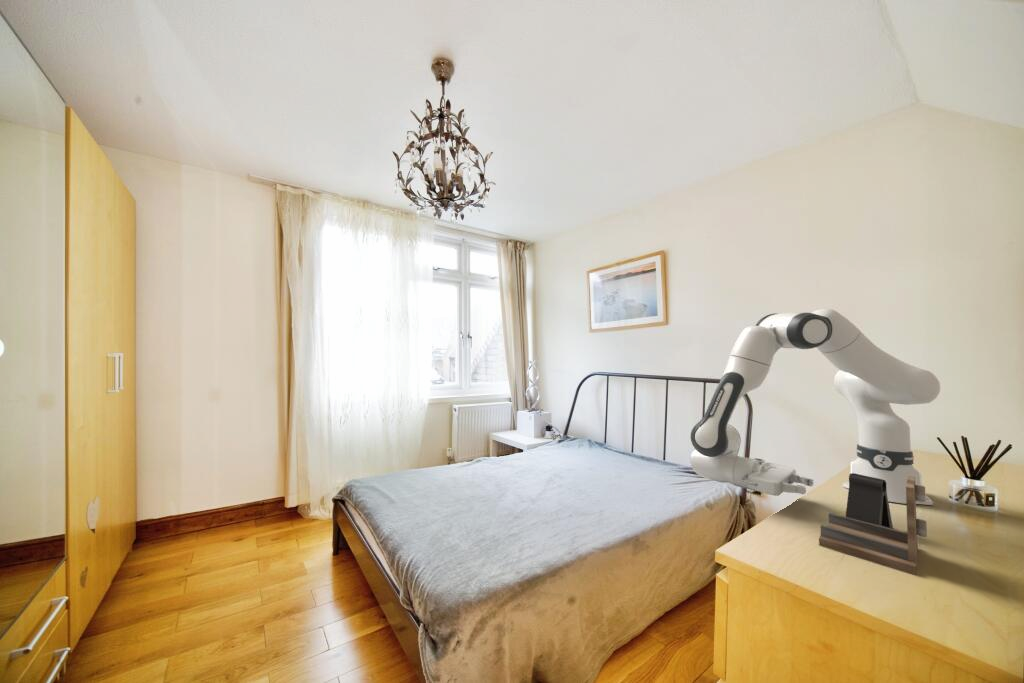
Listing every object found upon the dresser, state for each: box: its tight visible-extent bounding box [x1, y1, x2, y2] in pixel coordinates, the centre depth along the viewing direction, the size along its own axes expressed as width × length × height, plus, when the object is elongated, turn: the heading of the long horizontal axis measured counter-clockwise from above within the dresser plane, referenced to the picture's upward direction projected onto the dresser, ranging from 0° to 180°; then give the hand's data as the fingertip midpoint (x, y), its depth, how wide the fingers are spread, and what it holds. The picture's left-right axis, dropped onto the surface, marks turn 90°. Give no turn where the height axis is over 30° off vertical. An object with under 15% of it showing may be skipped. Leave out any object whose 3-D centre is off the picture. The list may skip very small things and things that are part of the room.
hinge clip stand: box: [818, 476, 928, 576], centre depth 77 cm, size 15×15×16 cm
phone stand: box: [845, 472, 894, 529], centre depth 88 cm, size 9×6×12 cm, turn 118°
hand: (809, 486), depth 96 cm, fingers open, 8 cm apart
